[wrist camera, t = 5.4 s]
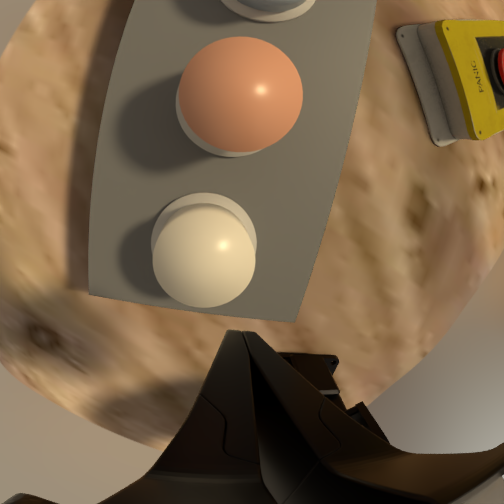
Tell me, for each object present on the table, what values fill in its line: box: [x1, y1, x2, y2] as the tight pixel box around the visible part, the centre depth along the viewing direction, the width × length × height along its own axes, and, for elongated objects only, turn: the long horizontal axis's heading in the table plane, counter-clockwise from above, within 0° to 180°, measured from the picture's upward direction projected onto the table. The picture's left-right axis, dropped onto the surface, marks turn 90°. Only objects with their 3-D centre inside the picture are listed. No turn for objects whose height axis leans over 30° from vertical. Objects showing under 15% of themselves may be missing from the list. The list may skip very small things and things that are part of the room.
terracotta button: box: [179, 37, 303, 152], centre depth 10 cm, size 4×4×2 cm
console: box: [88, 0, 377, 322], centre depth 14 cm, size 22×12×3 cm, turn 167°
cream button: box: [153, 203, 255, 308], centre depth 14 cm, size 4×4×2 cm
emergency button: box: [396, 20, 504, 146], centre depth 14 cm, size 9×4×15 cm
